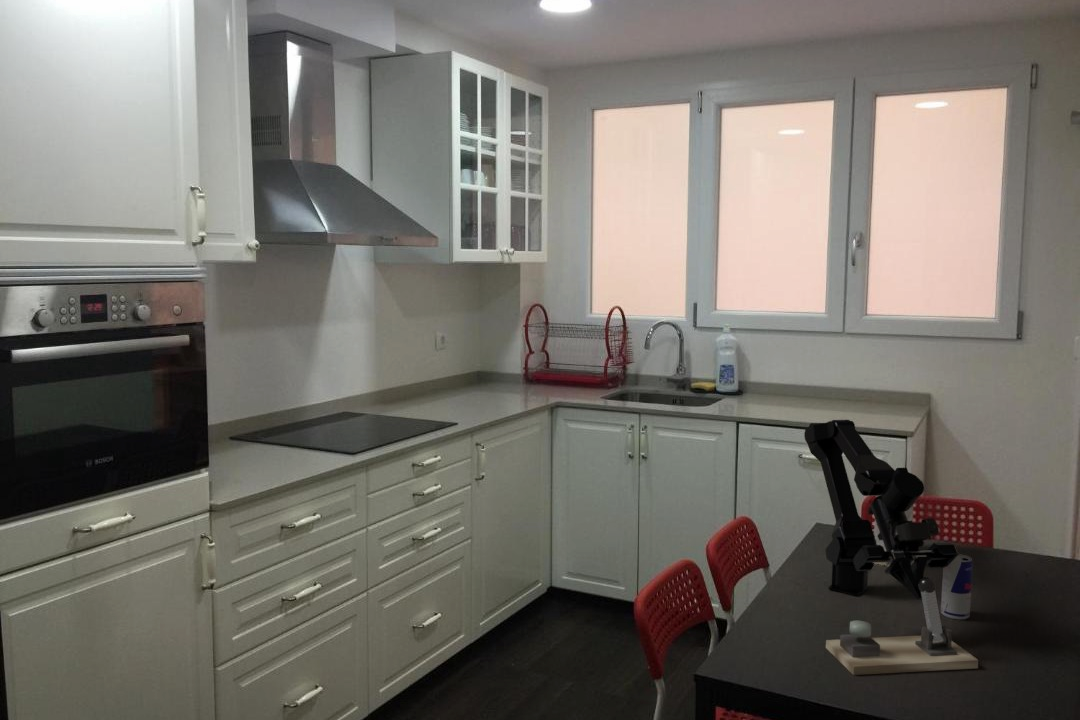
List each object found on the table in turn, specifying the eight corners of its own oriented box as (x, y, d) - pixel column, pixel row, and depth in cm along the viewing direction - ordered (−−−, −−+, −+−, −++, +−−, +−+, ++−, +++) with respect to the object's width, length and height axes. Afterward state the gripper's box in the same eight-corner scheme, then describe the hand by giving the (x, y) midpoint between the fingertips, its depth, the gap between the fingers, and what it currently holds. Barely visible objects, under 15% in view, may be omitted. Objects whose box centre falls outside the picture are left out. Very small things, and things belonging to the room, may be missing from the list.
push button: (845, 629, 164) (846, 620, 163) (864, 628, 164) (865, 620, 164) (855, 637, 160) (855, 628, 160) (874, 636, 161) (874, 628, 160)
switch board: (825, 647, 167) (826, 620, 166) (942, 642, 170) (944, 614, 169) (853, 674, 156) (854, 645, 156) (977, 668, 159) (979, 639, 158)
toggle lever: (925, 645, 164) (913, 578, 168) (940, 644, 164) (928, 577, 168) (934, 645, 161) (921, 576, 165) (949, 644, 161) (937, 576, 165)
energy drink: (972, 621, 180) (976, 562, 179) (944, 619, 181) (947, 560, 180) (965, 611, 185) (969, 554, 184) (937, 608, 186) (941, 552, 185)
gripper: (862, 504, 170) (889, 581, 161) (955, 501, 173) (987, 577, 163) (842, 532, 179) (866, 607, 169) (930, 529, 181) (959, 603, 172)
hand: (920, 598), depth 168 cm, fingers closed
